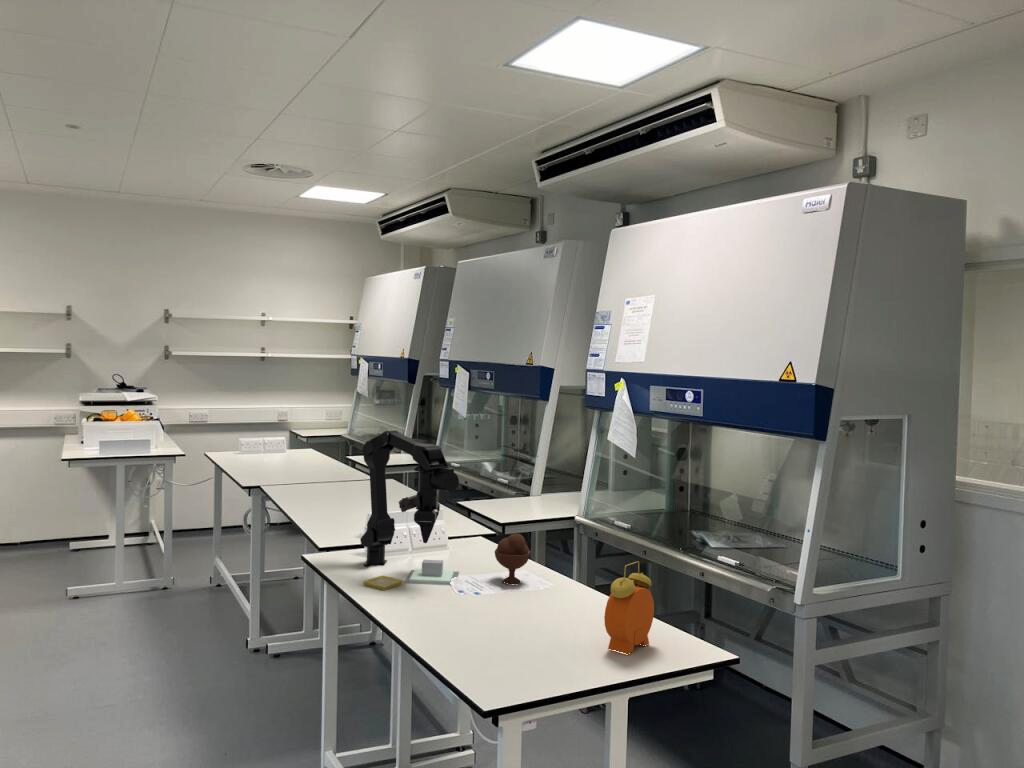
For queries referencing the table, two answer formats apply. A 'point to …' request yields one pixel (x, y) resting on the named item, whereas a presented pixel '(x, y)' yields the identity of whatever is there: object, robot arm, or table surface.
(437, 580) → the cover
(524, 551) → the ice cream bowl
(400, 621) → the table surface
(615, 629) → the alarm clock
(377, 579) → the saucer
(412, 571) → the mat
